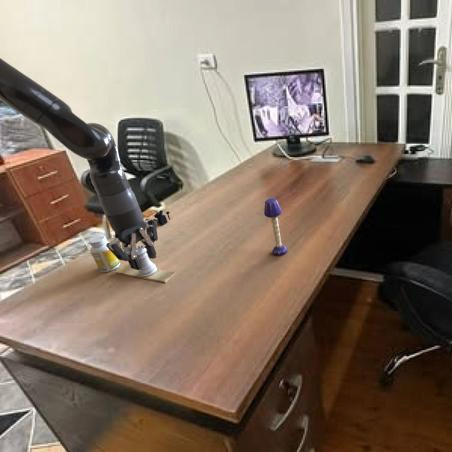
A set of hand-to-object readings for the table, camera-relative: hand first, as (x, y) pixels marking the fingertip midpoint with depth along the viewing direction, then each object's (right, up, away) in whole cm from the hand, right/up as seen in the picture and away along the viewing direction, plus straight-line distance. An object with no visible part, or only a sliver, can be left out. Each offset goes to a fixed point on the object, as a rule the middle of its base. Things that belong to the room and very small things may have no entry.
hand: (145, 263), depth 95 cm
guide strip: (-1, -3, +2) cm, 4 cm away
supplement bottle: (-14, -2, +7) cm, 16 cm away
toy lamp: (+36, +2, +6) cm, 36 cm away
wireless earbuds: (-9, +11, +29) cm, 32 cm away
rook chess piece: (0, -3, +2) cm, 3 cm away
